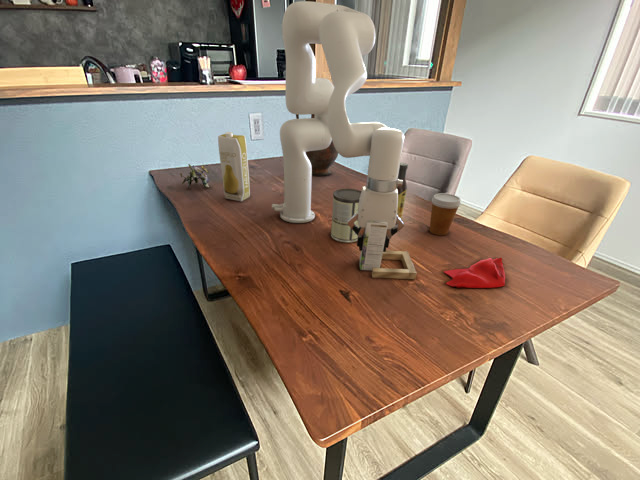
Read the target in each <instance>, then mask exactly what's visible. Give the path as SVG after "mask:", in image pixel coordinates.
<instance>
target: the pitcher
mask: <svg viewBox="0 0 640 480" xmlns="http://www.w3.org/2000/svg"><path fill="white" fill-rule="evenodd" d="M310 118H315V114H310ZM295 119H300V116H299V115H297V114H295ZM306 156H307V157H308V159H309V161H310V163H311V166H312V176H315V177H327V176H330V175H331V174H332V171H331V170H330V167H331V166H332V165H333V164H334V163H335V162H336V160H337V159H338V156H339V153H338V152H337V150H336V149H335V146H334V144H333V141H331V143H330V145H329V146H328V147H327V148H326V149H323V150H315V151H308V152H306Z"/></svg>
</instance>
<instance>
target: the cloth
mask: <svg viewBox="0 0 640 480" xmlns="http://www.w3.org/2000/svg"><path fill="white" fill-rule="evenodd" d="M443 273H444V274H445V275H447V276H449V277H450V278H451V280H449V281H446V282H445V285H447V286H449V287H456V288H457V289H458V288H463V289H464V288H466V289H469V288H470V289H486V288H487V289H493V288H500V287H501V288H502V287H505V286H506V273H505V268H504V264H503V258H502V257H497V258H492V257H488V258H487V259H480V260H479V261H477V262H476V263H474V264H472V265H470V267H466V268H455V269H449V270H443Z"/></svg>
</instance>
